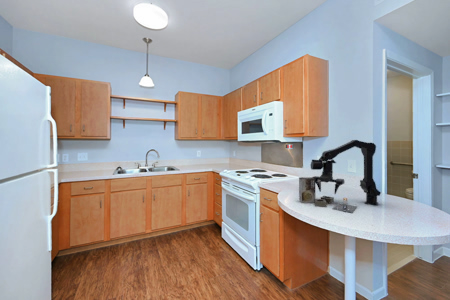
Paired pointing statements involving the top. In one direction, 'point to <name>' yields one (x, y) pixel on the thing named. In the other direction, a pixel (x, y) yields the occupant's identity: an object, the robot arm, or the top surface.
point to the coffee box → (306, 189)
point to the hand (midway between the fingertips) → (327, 192)
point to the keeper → (345, 207)
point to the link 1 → (320, 203)
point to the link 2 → (328, 199)
